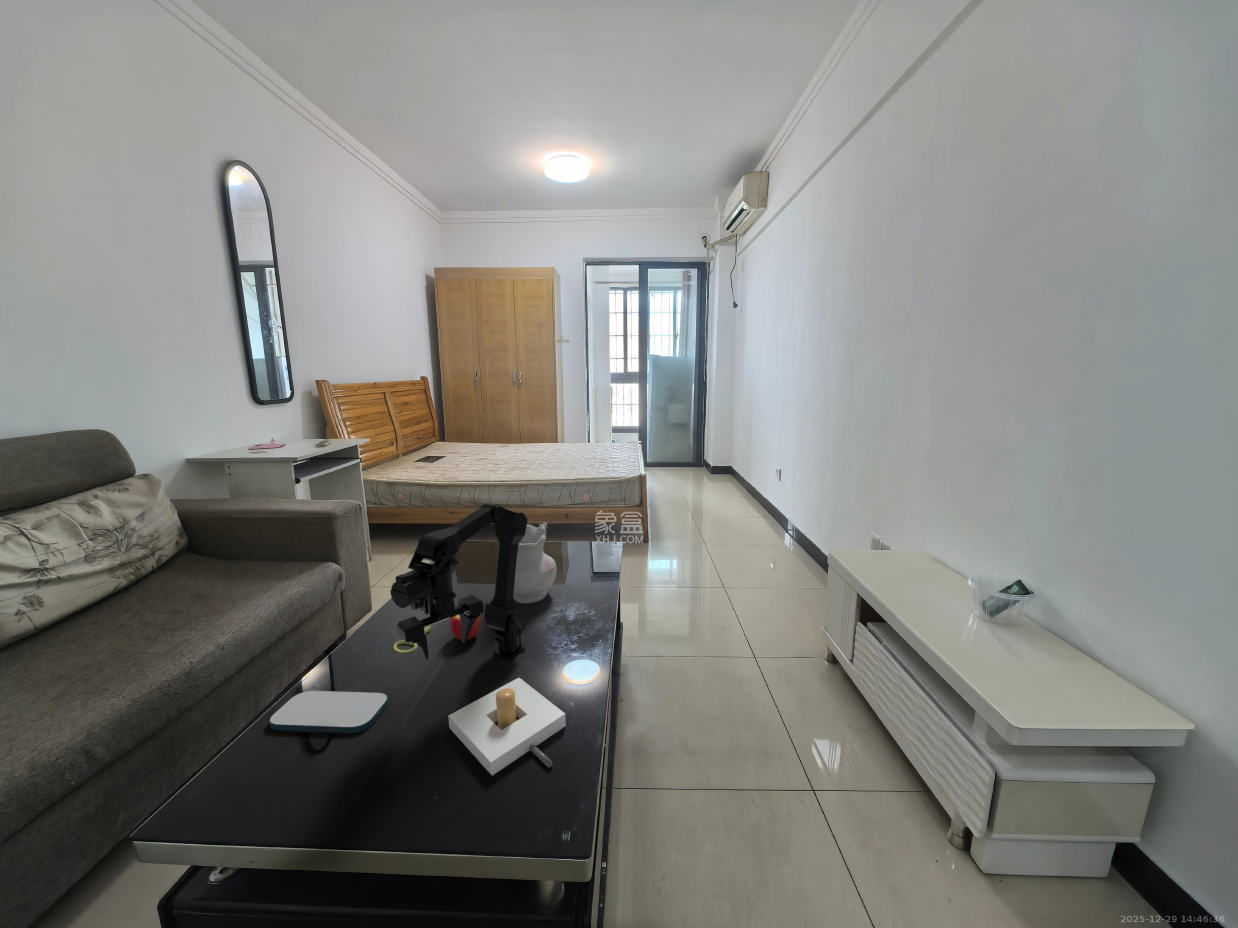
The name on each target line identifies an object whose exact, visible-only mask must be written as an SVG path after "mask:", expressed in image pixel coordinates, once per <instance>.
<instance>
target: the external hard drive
mask: <svg viewBox="0 0 1238 928" xmlns="http://www.w3.org/2000/svg"><path fill="white" fill-rule="evenodd" d="M388 705H389V696H388V695H387V694H386V693H383V692H371V691H370V692H367V691H337V690H336V691H333V690H308V691H307V690H306V691H302V692H300V693H298V694H295V695H294V696H292V697H291V698H290V699H289V700H287V702H285V703H284V704H283V705H282V706H281V707H279V708H278V709H277V710H276V711H275V712H274V713H273V714H272V715H271V717H270V718H269V720H268V721H269V723H268V725H269V727H270V728H271V729H272V730H274V731H276V732H277V731H279V732H298V733H299V732H300V733H301V732H302V733H326V734H328V733H329V734H357V733H361V732H364V731H366V730H368V729H369V728H371V727H372V726H373V725H374V724H375V722H376V721H377V720H378V719H379V718H380V717H381V715H382V713H383V712H384V711H385V710H386V709H387V707H388Z"/></svg>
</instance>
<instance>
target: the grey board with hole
mask: <svg viewBox="0 0 1238 928" xmlns="http://www.w3.org/2000/svg"><path fill="white" fill-rule="evenodd" d="M505 688H510V689H513V690H514V691H515V703H516V716H517V718H518V719H517V721H516V722H514V723H513V724H511V725H509V726H508V727H506V728H504V729H503V730H501V729H500V728H499V727H498V724H496V723H497V722H498V718H497V706H496V693H497V692H498V691H500V690H502V689H505ZM447 718H448V728H449V729H450V730H451V731H452V732H453V734H454V735H455V736H456V737H457V738H458V739H459V740H460V742H462V744H463V745H464V746H465V748H467V750H469V752H470V753H471V754H472V755H473V756H474V757H475V758H476V759H477V761H478V762H479V763H480V764H481V765H482V767H483V768H484V769H485V770H486V771H487V772H488V773H489V774H490V775H491V776H494V775H495V774H497V773H498V772H500V771H501V770H503V769H505V768H506V767H507V766H508V765H511V764H512V763H513V762H515V761H516V760H517V759H519V758H520V757H522V756H524V755H525V754H526V753H528V752H531V753H532V754H533V755H534V756H536V757H537V758H538V759H539V760H540V761H541V762H542V763H543V764H544V765H545V766H546V768H548V769H549V768H550V769H551V768H552V766H553V761H552V760H551V759H550V758H549V757H548V756H547V755H546V754H545V753H544V752H542V751H541V750H540V749H539V748H538V747H537V746H539V745H540V744H541V743H543V742H544V741H546V740H548V738H551V736H553V735H554V734H557V733H558V732H560V731H561V730H562V729H563V728H565V727H566V726H567V722H566V721H567V719H566V713H565V712H564V711H563V710H561V709H560V708H559V707H558V706H556V705H555V704H553V703H552V702H551V701H550V700H549V699H547V698H546V697H545V696H543V695H542V694H541V693H539V691H537V690H536V689H535V688H533V687H532V686H531V685H529V684H528V683H527V682H525V681H524V680H523V679H522V678H520V677H517V678H515V679H514V680H512V681H510V682H508V683H506V684H504V685H502V686H500V687H499V688H497V689H495V690H493V691H491V692H489V693H488V694H486V695H484V696H482V697H480V698H478V699H477V700H474V701H473V702H471V703H469V704H467V705H465V706H463V707H462V708H460V709H458V710H456V711H454V712H452V713H451V714H449V715H447Z"/></svg>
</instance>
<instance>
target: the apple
mask: <svg viewBox="0 0 1238 928" xmlns="http://www.w3.org/2000/svg"><path fill="white" fill-rule="evenodd" d="M449 625H450V630H451V633H452V634H453V636H454V637H455V638H456V639H457V640H460V641H462V637H461V619H460V616H459V615H456V616H454V617H451V618H450V624H449ZM480 627H481V616H480V617H479V618H477V619H476V621H475V623H474V625H473V627H472V629H471V631H470V633H469V636H468V638H467V641H469V640H471V639H472V638H475V636H476V635H478V632H479V630H480V629H481V628H480Z"/></svg>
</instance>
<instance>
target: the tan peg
mask: <svg viewBox="0 0 1238 928" xmlns="http://www.w3.org/2000/svg"><path fill="white" fill-rule="evenodd" d="M496 706H497V718H498V721H497V726H498V727H499V728H500V729H501V730H503V729H504V728H506V727H508V726H509V725H511V724H513V723H514V722H516V721H517V720H518V719H517V718H518V717H517V716H516V703H515V691H514V690H513V689H510V688H505V689H502V690H500V691H498V692H497V693H496Z"/></svg>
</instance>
